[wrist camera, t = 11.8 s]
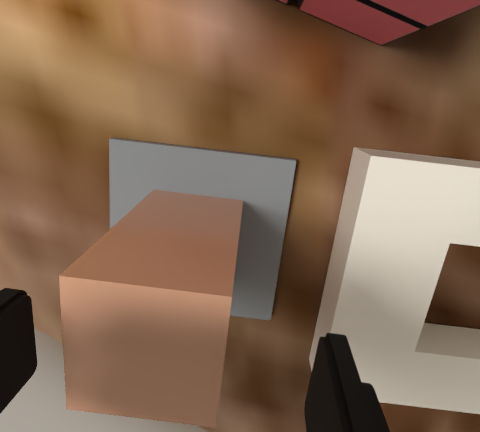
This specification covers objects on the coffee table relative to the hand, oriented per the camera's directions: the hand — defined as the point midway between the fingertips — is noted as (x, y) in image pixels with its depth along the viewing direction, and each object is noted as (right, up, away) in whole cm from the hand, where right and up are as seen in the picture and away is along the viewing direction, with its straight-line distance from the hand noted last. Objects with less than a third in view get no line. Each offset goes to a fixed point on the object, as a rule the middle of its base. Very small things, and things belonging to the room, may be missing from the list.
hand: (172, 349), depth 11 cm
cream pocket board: (+15, 0, +10) cm, 18 cm away
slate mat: (0, +3, +10) cm, 10 cm away
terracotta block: (0, +3, +9) cm, 10 cm away
